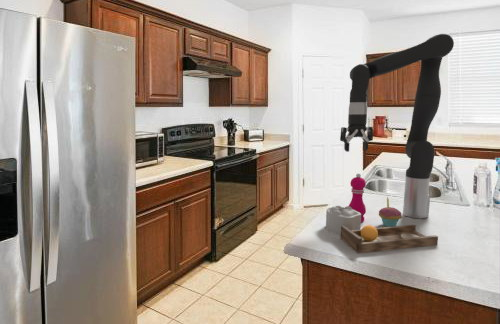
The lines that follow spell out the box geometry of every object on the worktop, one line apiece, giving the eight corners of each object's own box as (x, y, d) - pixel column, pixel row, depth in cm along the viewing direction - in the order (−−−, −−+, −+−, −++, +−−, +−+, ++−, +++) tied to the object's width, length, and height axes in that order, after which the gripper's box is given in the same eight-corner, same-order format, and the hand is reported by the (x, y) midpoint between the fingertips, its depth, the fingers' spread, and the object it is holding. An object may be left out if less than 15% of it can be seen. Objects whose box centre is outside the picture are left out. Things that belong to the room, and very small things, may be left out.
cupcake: (390, 230, 127) (392, 199, 125) (373, 223, 134) (374, 194, 133) (405, 226, 131) (407, 197, 129) (387, 220, 138) (389, 192, 136)
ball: (371, 237, 117) (372, 222, 116) (380, 243, 112) (381, 227, 111) (357, 238, 116) (357, 223, 115) (366, 245, 111) (366, 229, 110)
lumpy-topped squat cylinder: (347, 237, 120) (348, 214, 119) (319, 227, 130) (320, 206, 129) (363, 231, 126) (364, 209, 125) (336, 222, 136) (336, 201, 135)
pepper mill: (366, 223, 134) (369, 175, 131) (348, 222, 136) (350, 175, 132) (364, 218, 141) (366, 172, 138) (346, 217, 143) (348, 171, 139)
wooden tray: (413, 232, 125) (414, 219, 124) (437, 244, 113) (438, 230, 112) (340, 239, 119) (340, 225, 118) (358, 253, 107) (358, 238, 106)
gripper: (367, 113, 146) (365, 149, 148) (338, 113, 143) (336, 150, 145) (377, 113, 139) (375, 151, 141) (346, 113, 135) (345, 152, 138)
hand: (356, 151), depth 143 cm, fingers open, 8 cm apart
